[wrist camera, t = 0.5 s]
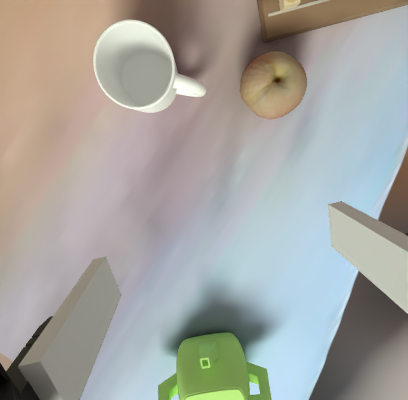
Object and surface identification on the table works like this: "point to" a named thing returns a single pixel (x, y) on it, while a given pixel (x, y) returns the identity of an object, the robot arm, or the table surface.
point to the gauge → (288, 4)
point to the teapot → (214, 371)
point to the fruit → (273, 84)
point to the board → (315, 14)
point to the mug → (140, 68)
